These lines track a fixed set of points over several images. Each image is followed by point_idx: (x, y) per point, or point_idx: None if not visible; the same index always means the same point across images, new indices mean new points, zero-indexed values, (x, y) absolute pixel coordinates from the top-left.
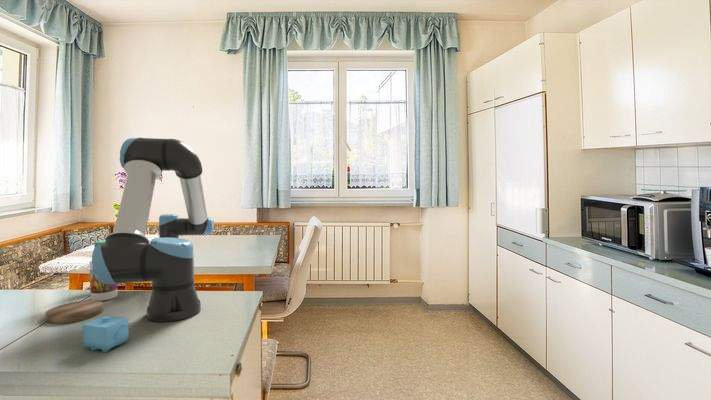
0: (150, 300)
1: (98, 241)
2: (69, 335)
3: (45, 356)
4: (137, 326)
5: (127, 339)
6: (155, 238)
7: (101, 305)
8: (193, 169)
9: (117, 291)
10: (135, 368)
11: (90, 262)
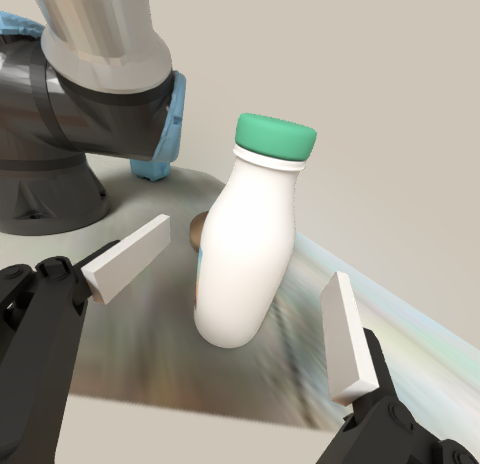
0: (96, 177)
1: (310, 128)
2: (197, 196)
3: (196, 178)
4: (124, 193)
5: (132, 172)
6: (29, 20)
7: (191, 228)
8: None
9: (195, 316)
10: (124, 158)
11: (340, 274)
